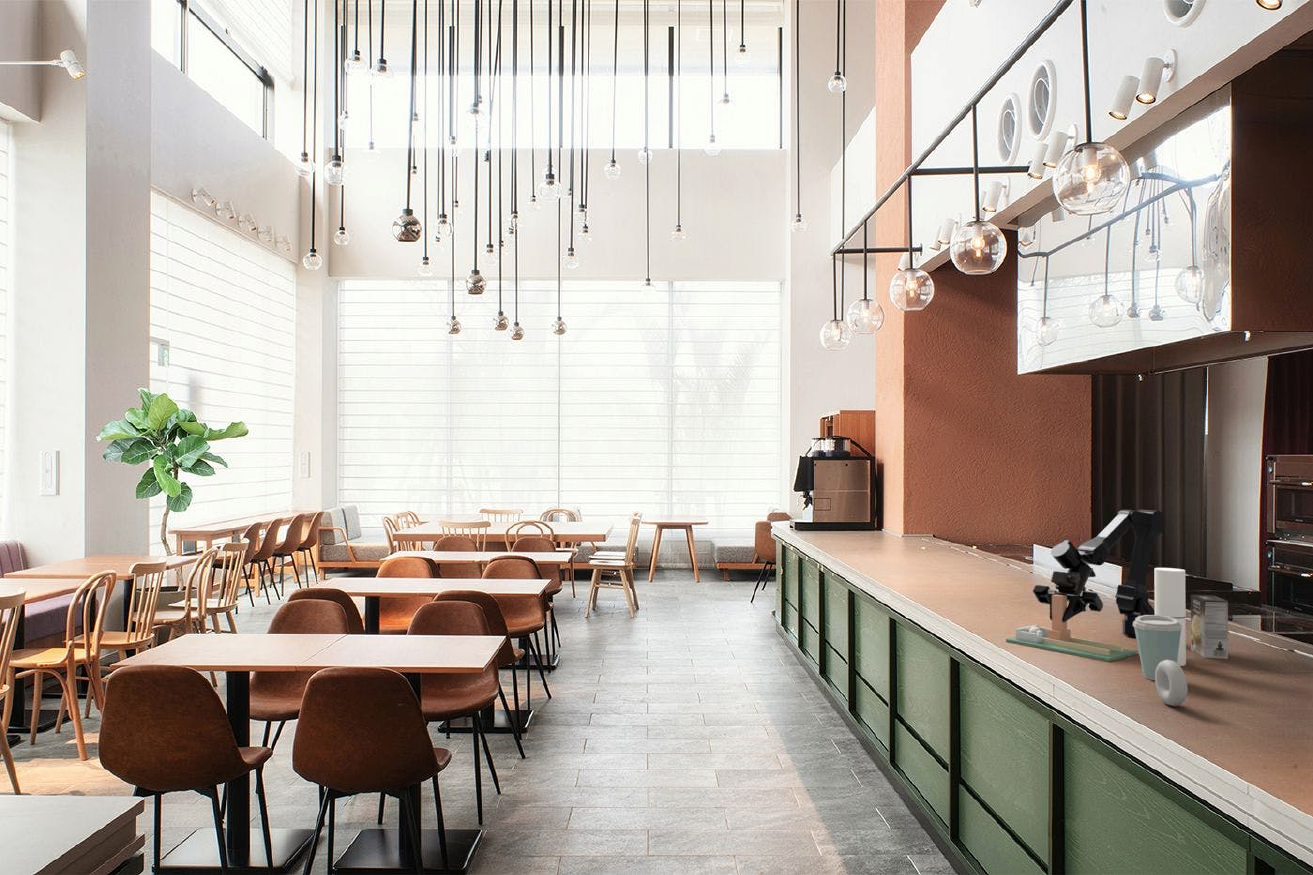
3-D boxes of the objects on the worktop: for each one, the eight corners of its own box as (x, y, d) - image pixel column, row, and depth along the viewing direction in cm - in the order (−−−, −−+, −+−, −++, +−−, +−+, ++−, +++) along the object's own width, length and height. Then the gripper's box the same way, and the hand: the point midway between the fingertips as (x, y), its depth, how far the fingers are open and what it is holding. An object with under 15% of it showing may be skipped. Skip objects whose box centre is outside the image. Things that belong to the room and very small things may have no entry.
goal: (1036, 634, 260) (1036, 622, 260) (1062, 639, 253) (1062, 627, 253) (1015, 639, 253) (1015, 627, 253) (1041, 644, 246) (1041, 631, 246)
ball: (1044, 634, 254) (1035, 627, 256) (1043, 630, 252) (1034, 622, 254) (1036, 642, 254) (1026, 634, 256) (1035, 638, 251) (1025, 630, 254)
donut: (1152, 698, 194) (1151, 654, 194) (1167, 699, 194) (1167, 655, 194) (1174, 711, 184) (1173, 665, 184) (1191, 712, 184) (1190, 666, 184)
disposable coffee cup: (1182, 686, 205) (1182, 623, 205) (1131, 679, 210) (1131, 619, 211) (1182, 676, 214) (1182, 616, 214) (1133, 670, 219) (1133, 612, 220)
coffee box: (1189, 650, 243) (1189, 594, 243) (1214, 651, 242) (1214, 595, 242) (1203, 658, 234) (1203, 599, 234) (1229, 659, 233) (1229, 600, 233)
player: (1058, 639, 251) (1058, 593, 251) (1070, 641, 248) (1070, 595, 249) (1048, 642, 247) (1048, 595, 248) (1059, 644, 245) (1059, 597, 245)
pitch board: (1034, 635, 262) (1034, 627, 262) (1136, 653, 238) (1136, 645, 238) (1006, 641, 253) (1006, 633, 253) (1109, 661, 229) (1109, 653, 229)
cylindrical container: (1175, 666, 224) (1175, 571, 224) (1149, 661, 230) (1148, 568, 230) (1191, 664, 227) (1191, 570, 227) (1165, 658, 233) (1164, 567, 234)
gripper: (1035, 558, 258) (1016, 598, 251) (1098, 564, 243) (1078, 607, 236) (1049, 581, 263) (1030, 621, 256) (1111, 589, 248) (1092, 632, 241)
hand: (1056, 620), depth 247 cm, fingers closed on player, 3 cm apart
